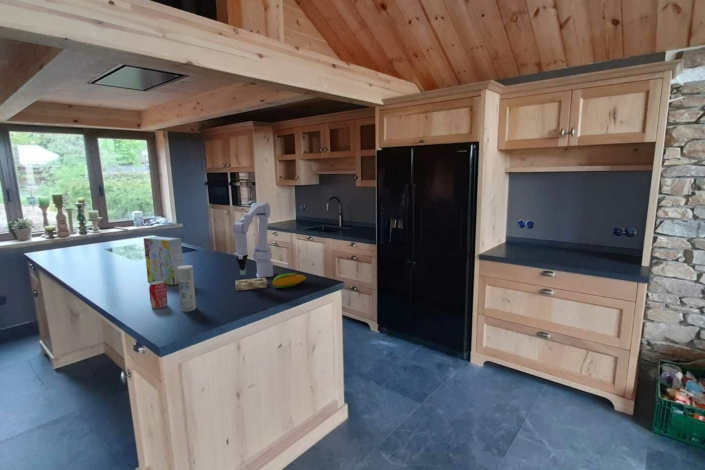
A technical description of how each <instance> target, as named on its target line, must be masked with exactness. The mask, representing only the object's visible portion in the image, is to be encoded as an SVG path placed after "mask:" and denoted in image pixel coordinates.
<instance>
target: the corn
mask: <svg viewBox="0 0 705 470" xmlns="http://www.w3.org/2000/svg"><path fill="white" fill-rule="evenodd" d="M306 279H307V277H306V276H305V275H303V274H298V273H297V272H288V273H283V274H280V275H276V276H275V277H274V278H273V279H272V281H271V284H272V286H273V287H274V288H277V289H285V288H290V287H294V286H297V285H298V284H300V283H301V282H303V281H305V280H306Z"/></svg>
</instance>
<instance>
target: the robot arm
mask: <svg viewBox="0 0 705 470" xmlns="http://www.w3.org/2000/svg"><path fill="white" fill-rule="evenodd" d="M270 216H271V206H270V204H269V203H268V202H252V203H251V205H250V209H249V211H248V213H246V214H243V215H242V217H241V218H240V219H239V220H238V221H236V222H234V223H233V224H232V232H233V235H234V237H235V249H236V250H235V251H236V252H233V254H234V255H236V256H237V257H235V260H236V262H237V263H238V267H239V271H240V270H245V267H246V266H247V260H248V256H249V252H248V242H247V241H248V239H247V233H248V231H249V228H250V225H251V224H252V222H254V217H257V218H258V241H257V246H255V247H254V248H253V252H252V258H253V261H255V262H256V274H255V275H256V278H268V277H274V265H273V263H274V262H273V260H272V256H273V255H272V254H273V253H272V248H271V247H270V246H269V245H268V224H269V218H270Z"/></svg>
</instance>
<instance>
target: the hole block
mask: <svg viewBox="0 0 705 470" xmlns="http://www.w3.org/2000/svg"><path fill="white" fill-rule="evenodd" d="M234 283H235V291H246V290H255V289H265V288H268V280H267V279H266V277H259V278H257V277H256V278H248V279H238V280H235V282H234Z"/></svg>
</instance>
